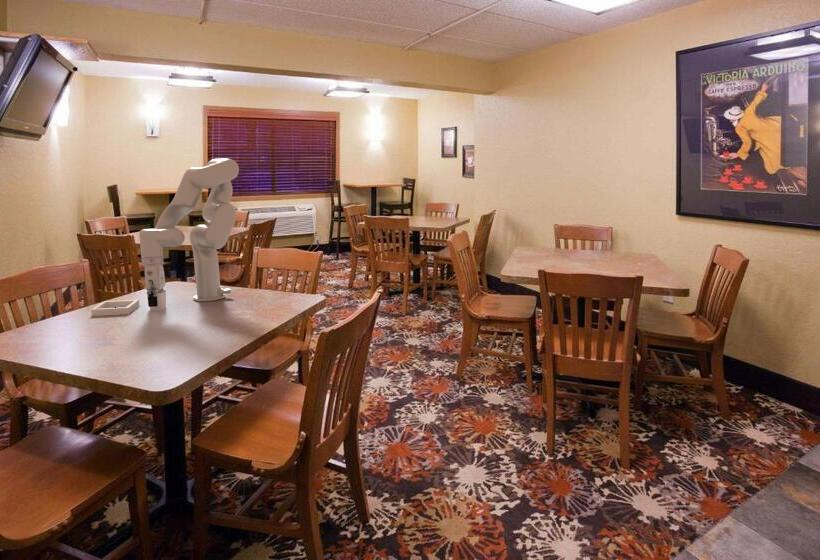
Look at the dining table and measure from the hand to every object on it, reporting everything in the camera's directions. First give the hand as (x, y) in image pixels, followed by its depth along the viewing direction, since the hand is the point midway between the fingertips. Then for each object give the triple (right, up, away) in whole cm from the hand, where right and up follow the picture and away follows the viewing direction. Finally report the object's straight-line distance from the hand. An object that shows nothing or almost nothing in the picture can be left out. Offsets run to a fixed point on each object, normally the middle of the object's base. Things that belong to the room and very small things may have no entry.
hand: (156, 303), depth 195 cm
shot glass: (0, -2, +1) cm, 2 cm away
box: (-14, -3, -2) cm, 15 cm away
